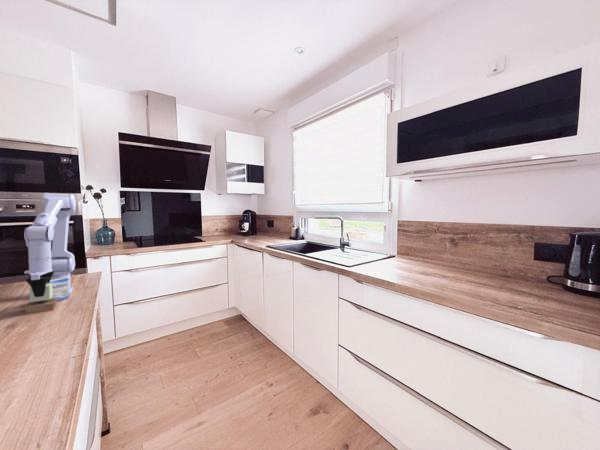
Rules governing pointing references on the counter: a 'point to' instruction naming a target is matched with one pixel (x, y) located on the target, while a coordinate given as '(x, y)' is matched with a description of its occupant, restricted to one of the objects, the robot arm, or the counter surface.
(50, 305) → the walnut block
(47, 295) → the sage cube
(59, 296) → the medicine box
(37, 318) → the counter surface
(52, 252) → the robot arm
